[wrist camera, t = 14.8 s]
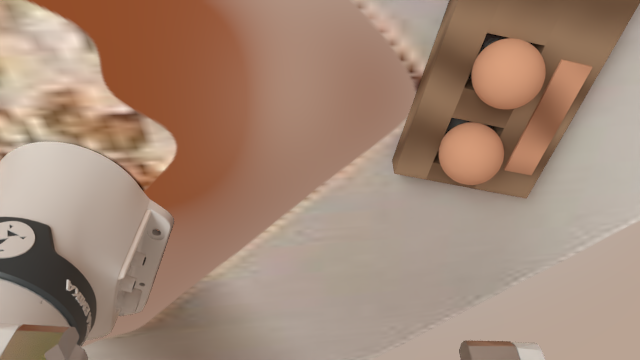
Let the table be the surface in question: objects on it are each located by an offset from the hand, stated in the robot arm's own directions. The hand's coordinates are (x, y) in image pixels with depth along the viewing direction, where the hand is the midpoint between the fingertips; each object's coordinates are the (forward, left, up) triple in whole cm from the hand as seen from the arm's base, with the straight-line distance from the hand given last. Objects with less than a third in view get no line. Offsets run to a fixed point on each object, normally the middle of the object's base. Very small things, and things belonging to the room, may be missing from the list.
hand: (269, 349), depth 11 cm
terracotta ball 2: (-4, -15, -28) cm, 32 cm away
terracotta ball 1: (-11, -15, -28) cm, 33 cm away
